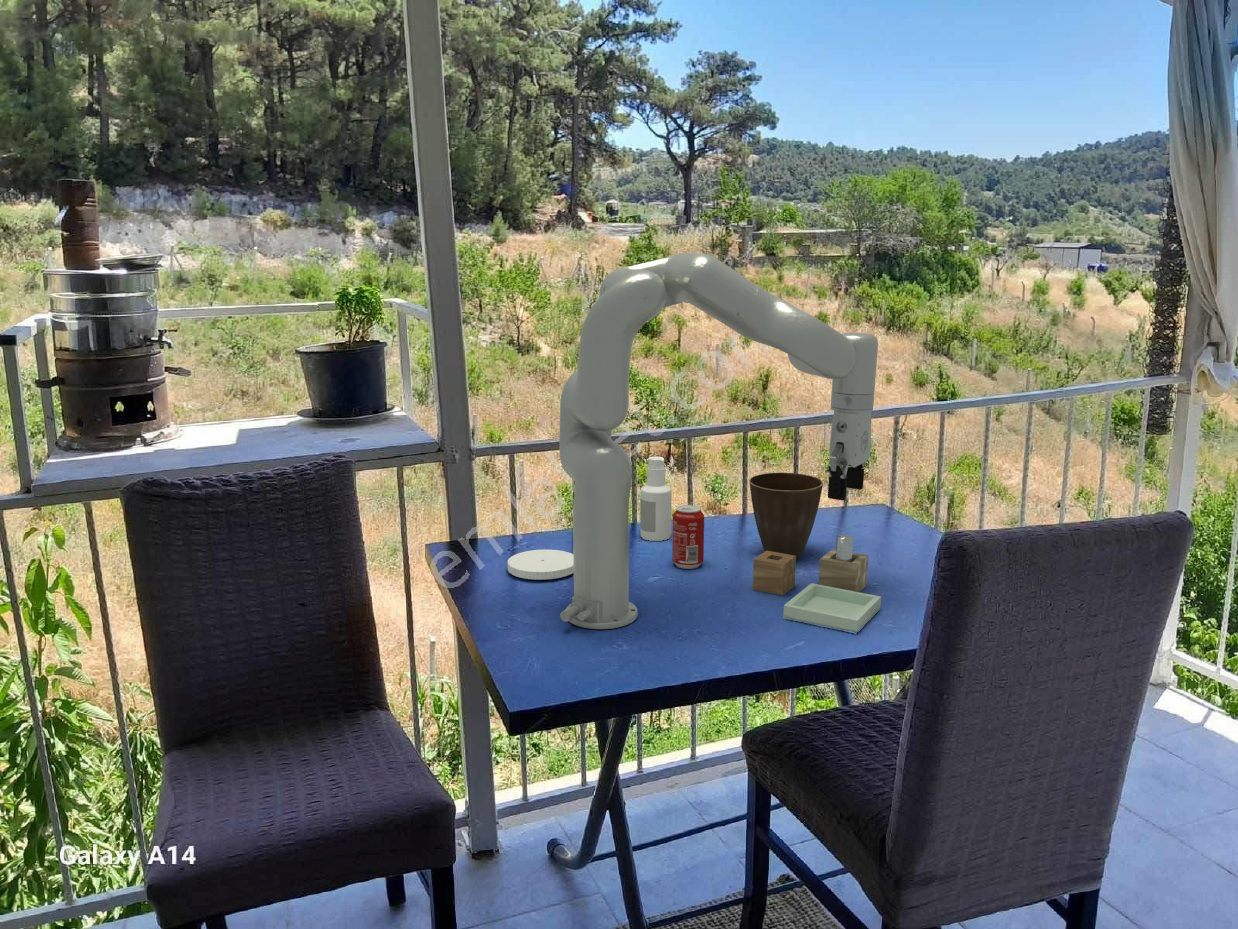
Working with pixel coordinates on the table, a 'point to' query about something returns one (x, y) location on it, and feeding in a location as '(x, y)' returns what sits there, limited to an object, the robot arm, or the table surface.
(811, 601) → the tray
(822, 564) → the go block
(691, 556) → the beverage can
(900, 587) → the table surface
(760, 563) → the block
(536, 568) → the plastic lid
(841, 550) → the cylinder
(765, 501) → the plant pot
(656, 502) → the spray bottle
